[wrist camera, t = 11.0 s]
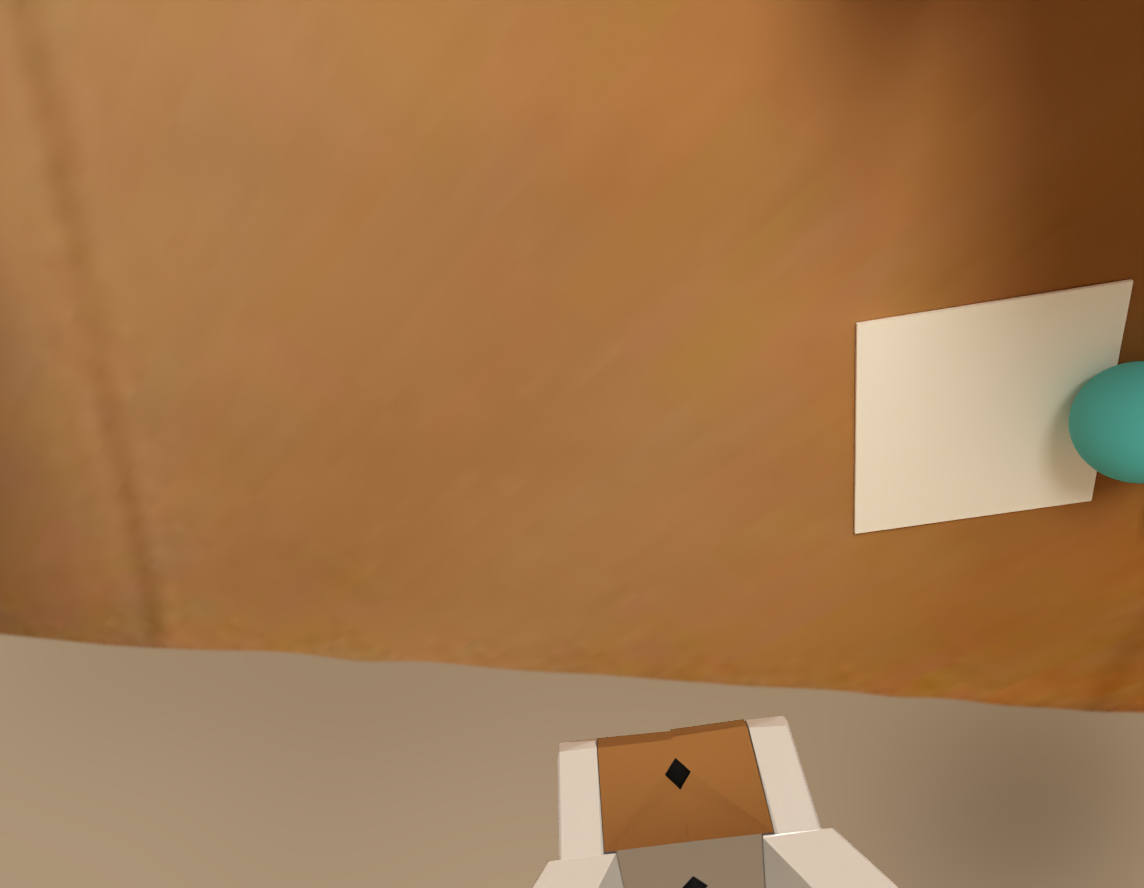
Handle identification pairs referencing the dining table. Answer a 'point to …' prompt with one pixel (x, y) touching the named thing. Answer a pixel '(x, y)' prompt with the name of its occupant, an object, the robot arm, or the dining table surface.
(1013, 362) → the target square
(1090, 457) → the ball
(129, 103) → the dining table surface
